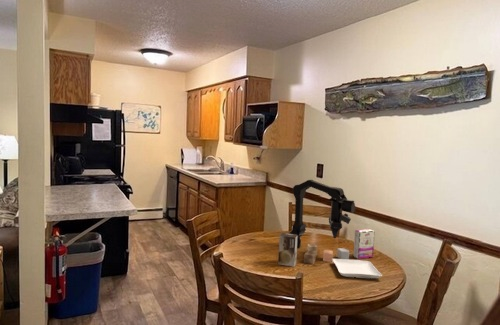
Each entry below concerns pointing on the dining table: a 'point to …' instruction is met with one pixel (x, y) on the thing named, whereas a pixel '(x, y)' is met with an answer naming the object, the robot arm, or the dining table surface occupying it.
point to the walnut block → (309, 257)
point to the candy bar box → (364, 243)
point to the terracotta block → (327, 255)
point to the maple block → (312, 248)
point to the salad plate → (356, 268)
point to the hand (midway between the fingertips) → (333, 235)
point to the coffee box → (287, 249)
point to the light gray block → (342, 253)
